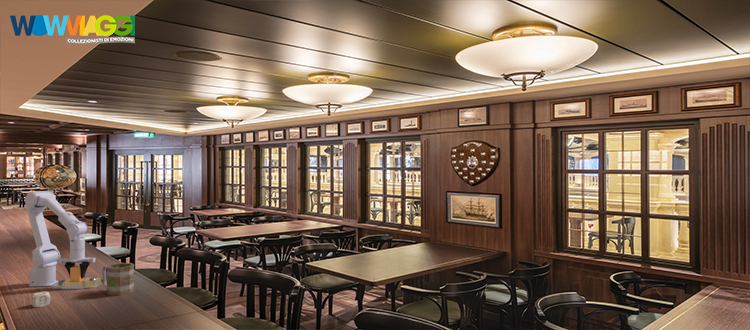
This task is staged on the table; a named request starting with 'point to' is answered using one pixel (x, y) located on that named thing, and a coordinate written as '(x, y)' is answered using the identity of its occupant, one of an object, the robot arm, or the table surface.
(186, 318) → the table surface
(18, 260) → the table surface
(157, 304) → the table surface
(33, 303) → the die
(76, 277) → the orange rectangular peg
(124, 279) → the mug
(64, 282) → the square frame connector
